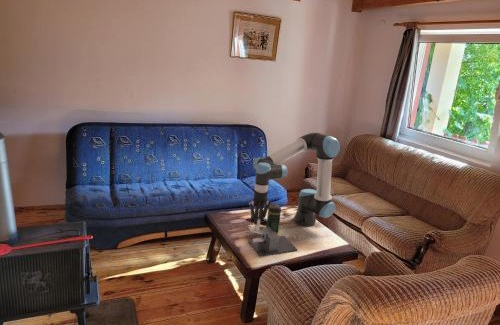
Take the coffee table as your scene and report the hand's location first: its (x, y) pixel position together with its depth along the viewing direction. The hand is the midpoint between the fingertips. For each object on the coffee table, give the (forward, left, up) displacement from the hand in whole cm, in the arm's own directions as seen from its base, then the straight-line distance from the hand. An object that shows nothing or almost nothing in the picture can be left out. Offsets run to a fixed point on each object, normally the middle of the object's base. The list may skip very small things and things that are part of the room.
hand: (257, 229), depth 202 cm
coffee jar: (-19, -17, -13) cm, 29 cm away
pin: (-6, 0, -10) cm, 12 cm away
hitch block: (-11, 0, -13) cm, 17 cm away
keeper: (0, 0, -2) cm, 2 cm away
